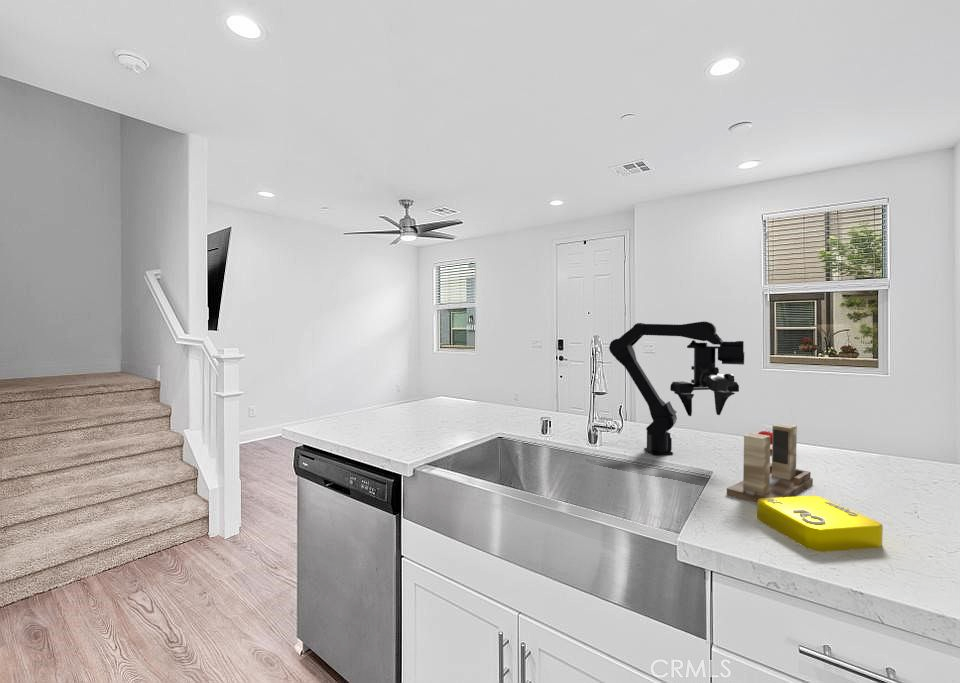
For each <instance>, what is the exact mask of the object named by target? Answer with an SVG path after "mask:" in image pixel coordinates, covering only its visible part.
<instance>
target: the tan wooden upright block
mask: <svg viewBox="0 0 960 683" xmlns="http://www.w3.org/2000/svg"><path fill="white" fill-rule="evenodd" d="M797 427H798V426H797V425H793V424H792V425H791V424H787V423H781V422H780V423H779V422H778V423H776V424H773V425H772V432H771V433H772V445H771V463H772V476H774V477H778V478H783V479H787V480H791V479H793V478H794V477H796V469H797V440H798V438H797V435H798V434H797V432H798V430H797V429H798V428H797Z"/></svg>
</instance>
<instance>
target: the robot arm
mask: <svg viewBox="0 0 960 683" xmlns="http://www.w3.org/2000/svg"><path fill="white" fill-rule="evenodd" d="M643 336H659V337H660V336H663V337H682V338H687V339H692V340H691V342H690V343H689V344H688V345H686V347H687V349H693V365H691V370H693V379H690V382H688V381H684V380H683V381H672V382H671V384H670V386H669V387H670V388H669V390H670V391H671V392H674V394H675V395H677V396H678V397H679V399H680V401H681V403H682V405H683V407H684V409H685V411H686V414H687V416H688V417H692V415H693V407H692V406H693V405H692V404H693V402H692V401H693V398H694V396H695V394H694V393H693V392H694V391H702V390H703V391H706V390H707V391H708V390H710V391H711V392H713V394H714V395H713V396H714V405H715V412H716V415H717V416H721V414H722V412H723V408H724V407H725V404H726V402H727V400H728V398H729V397H731V396H734V395H735V394H736V393H737V392H739V391H740V385H739V383H738V382H737V381H735V375H734V374H732V373H725V374H720V368H719V367H717V366H716V350H717V361H719V362H721V364H722V365H739V366H740V365H742V366H743V365H745V350H744V347H745V346H744V345H745V344H744V342H745V341H744V340H737V341H724V340H722V338H721V337H720V336H719V335H718V334H717V328H716V326H715V325H714V323H712V322H710V321H704V320H703V321H696V322H690V323H683V324H666V323H665V324H664V323H663V324H662V323H661V324H660V323H644V322H637V323H635V324H633V326H632V327H631V328H630V329H629V330H628V331H626V332H625V333H624V334H622V335H621V336H620V337H619V338H615V339H613V340H612V341H611V342H610V343H609V348H608V350H609V351H610V354H611V355H612V356H613V357H614V358H615V359H616V361H618V362H619V363H620V364H621V365H622V366H623V367H624V369H625V370H626V371H627V373H628V375H629V376H630V378H631V380H632V381H633V382H634V384H635V386H636V388H637V389H638V391H639V392H640V394H641V396H642V397H643V399H644V401H645V402H646V404H647V405H648V410H649V412H650V417H651V419H652V422H651V423H649V425H648V426H646V427H645V429H646V447H644V448H643V449H644V450H645V452H648V453H650V454H652V455H653V456H665V455H674V452H673V451H672V449H673V448H672V447H673V446H672V444H673V443H672V441H673V440H672V439H673V438H672V437H671V432H669V430H671V429H672V428H673V427H674V426H675V425H676V423H677V419H678V416H677V415H676V414H677V410H675V408H674V407H673V406H672V403H671V401H667V402H665V401H664V400H663V399H662V398H660V396H659V394H658V392H657V391H656V389H655V387H654V386H653V384H652V383H651V381H650V379H649V378H648V377H647V374H646V373H645V372H644V370H643V368H642V367H641V365H640V363H639V362H638V360H637V356H636V352H635V350H634V347H633V346H634V345H635V344H636V343H638V341H640V339H641V338H642V337H643ZM696 340H697V341H702V342H697V341H696ZM708 342H709V343H710V344H711V346H710V345H708ZM713 345H715V346H713ZM716 345H718V346H716ZM644 450H643V451H644Z"/></svg>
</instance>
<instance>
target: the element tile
mask: <svg viewBox="0 0 960 683" xmlns="http://www.w3.org/2000/svg"><path fill="white" fill-rule="evenodd" d="M756 519H757V520H758V521H759V522H760V523H762V524H764V525H766V526H768V527H770V528H771V529H773V530H774V531H776V532H778V533H780V534H781V535H783V536H785V537H786V536H787V537H786V538H788V539H790V540H791V541H793V540H794V542H795V543H797V544H798V543H799V544H798V545H800V544H801V545H800V546H801V547H804V548H806V549H808V548H809V549H808V550H811V551H814V550H815V552H822V553H823V552H837V550H839V551H850V550H849V549H853V550H863V549H864V550H865V549H875V548H876V549H879V548H882V547H883V532H884V531H883V527H884V526H883V525H882V523H881V522H879V521H877V520H875V519H872V518H870V517H868V516H866V515H863V514H861V513H859V512H856V511H854V510H852V509H849V508H847V507H845V506H843V505H840V504H837V503H836V502H833V501H831V500H829V499H827V498H825V497H821V496H819V495H795V496H793V497H776V498H761V499H758V501H757V503H756Z"/></svg>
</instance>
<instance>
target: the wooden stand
mask: <svg viewBox="0 0 960 683" xmlns="http://www.w3.org/2000/svg"><path fill="white" fill-rule="evenodd" d="M742 475H743V480H741V481H739V482H738V483H735V484H733V485H731V486H728V487H726V495H727V496H730V497H734V498H736V499H741V500H744V501H747V502H751V503H755V504H757V501H758V499H761V498H776V497H794V496H797V495H798V494H799V493H801V492H802V491H805V490H806V489H808V488H809V487H811V486H812V485H814V483H813V482H814V481H813V480H814V479H813V477H811V471H808V470H803V469H799V468H796V477H794V478H793V479H791V480H787V479H783V478H778V477H774V476H772V462H771V445H770V436H767V435H762V434H758V433H754V432H750V433H747V434H746V433H745V434H744V435H743V474H742Z"/></svg>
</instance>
